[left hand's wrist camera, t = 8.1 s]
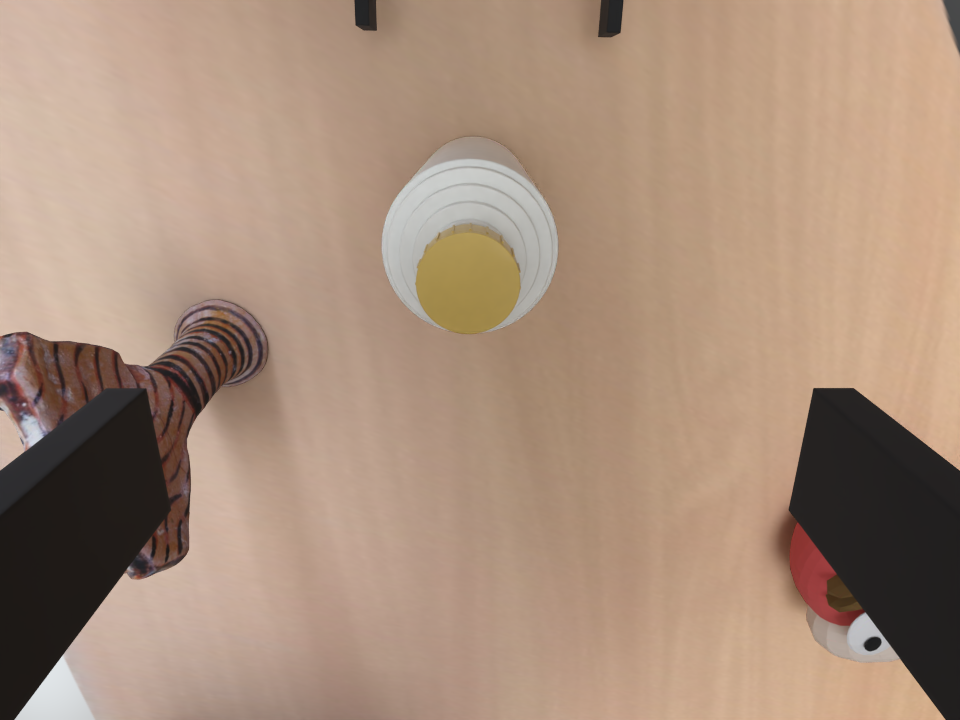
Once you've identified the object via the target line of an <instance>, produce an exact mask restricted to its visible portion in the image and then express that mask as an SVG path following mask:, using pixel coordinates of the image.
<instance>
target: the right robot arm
mask: <svg viewBox="0 0 960 720" xmlns="http://www.w3.org/2000/svg"><path fill="white" fill-rule="evenodd" d="M622 10H623V0H601V9H600V21H599V34H598V37H613V36H615V35H617V34H619V33H620V32H621V21H622ZM355 22H356V26H358V27H359V28H361V29H362V30H371V31H377V24H376V0H355Z"/></svg>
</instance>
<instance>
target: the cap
mask: <svg viewBox="0 0 960 720" xmlns="http://www.w3.org/2000/svg"><path fill="white" fill-rule="evenodd" d="M417 268H418V270H417V275H416V282H415V285H416V291H417V296H418V299H419V302H420V304H421V306H422V308H423V310H424V311H425V312H426V314H427V315H428V316H429V317H430V318H431V319H432V320H433V321H434V322H435V323H436V324H438V325H439V326H441V327H443V328H445V329H447V330H449V331H452V332H455V333H461V334H476V333H482V332H485V331H488V330H490V329H492V328H494V327H496V326H497V325H499V324H500V323H502V322H503V321H504V320H505V319H506V318H507V317H508V316H509V315H510V313H511V312H512V310H513V309H514V307H515V305H516V303H517V300H518V297H519V293H520V290H521V285H520V274H519V273H521V271H520V267H519V263H517V261H516V258H515V254H514V249H513V247H512V248H511V247H510V246H509V244H508V243H507V242H506V241H505V240H504V239H503V236H502V235H499V234H497V233H496V232H494V231H493V230H491V229H489V227H488V226H486V227H483V226H479V225H473V224H472V223H470V224H464V225H458V226H455V225H453V226H452V227H451V228H448V229H446V230H444V231H443V232H441V233H440V232H438V233H437V236H436V237H435V238H434V239H433V240H432V241H431V242H430V243H429V244H427V245H426V247H425V249H424V253H423V256H422V258H421V259H419V262H418V265H417Z"/></svg>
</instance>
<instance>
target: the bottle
mask: <svg viewBox="0 0 960 720" xmlns="http://www.w3.org/2000/svg"><path fill="white" fill-rule="evenodd" d="M470 223H472V224H473V225H479V226H483V227H486V226H488V227H489V229H491V230H493V231H494V232H496V233H497V234H499V235H502V236H503V239H504V240H505V241H506V242H507V243H508V244H509V246H510V247H511V248H512V247H513V249H514V254H515V258H516V261H517V263H519V267H520V271H521V273H519V274H520V285H521V290H520V293H519V297H518V300H517V303H516V305H515V307H514V309H513V310H512V312H511V313H510V315H509V316H508V317H507V318H506V319H505V320H504V321H503V322H502V323H500V324H499V325H497V326H496V327H494V328H492V329H490V330H488V331H485V332H490V331H494V330H497V329H500V328H503V327H506V326H508V325H510V324H512V323H514V322H515V321H517V320H519V319H520V318H522V317H523V316H524V315H525V314H527V313H528V312H529V311H530V310H531V309H532V308H533V307H534V306H535V305H536V304H537V303H538V302H539V301H540V299H541V298H542V296H543V295H544V294H545V292H546V290H547V288H548V287H549V285H550V283H551V280H552V278H553V275H554V272H555V268H556V264H557V259H558V234H557V228H556V224H555V221H554V218H553V215H552V213H551V210H550V208H549V206H548V204H547V202H546V201H545V199H544V198H543V196H542V195H541V193H540V192H539V190H538V189H537V187H536V186H535V184H534V183H533V181H532V180H531V178H530V177H529V175H528V174H527V172H526V171H525V170H524V168H523V167H522V165H521V164H520V162H519V161H518V159H517V158H516V157H515V156H514V154H513V153H512V152H511V151H509V150H508V149H507V148H506V147H504V146H503V145H502V144H500V143H498V142H496V141H494V140H491V139H488V138H484V137H476V136H470V137H462V138H458V139H455V140H452V141H450V142H448V143H446V144H444V145H443V146H442V147H440V148H439V149H438V150H437V151H436V152H434V153H433V154H432V156H431V157H430V158H429V159H428V160H427V161H426V162H425V164H424V165H423V166H422V167H421V168H420V169H419V171H418V172H417V173H416V174H415V175H414V176H413V177H412V179H411V180H410V181H409V182H408V183H407V184H406V185H405V187H404V188H403V189H402V190H401V192H400V193H399V194H398V195H397V197H396V199H395V200H394V202H393V203H392V205H391V207H390V210H389V212H388V214H387V217H386V220H385V224H384V227H383V234H382V257H383V264H384V267H385V271H386V274H387V277H388V279H389V282H390V284H391V286H392V288H393V289H394V291H395V293H396V294H397V296H398V297H399V298H400V300H401V301H402V302H403V303H404V305H405V306H406V307H407V308H408V309H409V310H410V311H412V312H413V313H414V314H415V315H416V316H418V317H419V318H421V319H422V320H424V321H425V322H427V323H429V324H431V325H433V326H435V327H438V328H440V329H444V330H447V329H445V328H443V327H441V326H439V325H438V324H436V323H435V322H434V321H433V320H432V319H431V318H430V317H429V316H428V315H427V314H426V312H425V311H424V310H423V308H422V306H421V304H420V302H419V299H418V296H417V291H416V285H415V282H416V275H417V270H418V268H417V265H418V262H419V259H421V258H422V256H423V253H424V249H425V247H426V245H427V244H429V243H430V242H431V241H432V240H433V239H434V238H435V237H436V236H437V233H438V232H440V233H441V232H443V231H444V230H446V229H448V228H451V227H452V226H453V225H455V226H458V225H464V224H470ZM447 331H449V330H447ZM451 332H452V331H451ZM485 332H482V333H485Z"/></svg>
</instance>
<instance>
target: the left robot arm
mask: <svg viewBox="0 0 960 720" xmlns="http://www.w3.org/2000/svg"><path fill="white" fill-rule="evenodd" d="M170 511H171V506H170V501H169V496H168V491H167V487H166V482H165V477H164V472H163V467H162V462H161V457H160V452H159V447H158V443H157V438H156V433H155V428H154V423H153V418H152V413H151V408H150V403H149V398H148V394H147V389H146V388H106V389H105V390H103V391H102V392H101V393H100V394H98V395H97V396H96V397H94V398H93V399H92V400H91V401H89V402H88V403H87V404H85V405H84V406H83V407H82V408H80V409H79V410H78V411H76V412H75V413H74V414H73V415H71V416H70V417H69V418H67V419H66V420H65V421H64V422H62V423H61V424H60V425H58V426H57V427H56V428H55V429H53V430H52V431H51V432H49V433H48V434H47V435H46V436H44V437H43V438H42V439H40V440H39V441H38V442H37V443H35V444H34V445H33V446H31V447H30V448H29V449H28V450H26V451H25V452H24V453H22V454H21V455H20V456H19V457H17V458H16V459H15V460H13V461H12V462H11V463H10V464H8V465H7V466H6V467H4V468H3V469H2V470H1V471H0V720H14V719H15V718H16V717H17V715H18V714H19V713H20V711H21V710H22V709H23V707H24V706H25V705H26V703H27V702H28V701H29V699H30V698H31V697H32V695H33V694H34V693H35V691H36V690H37V689H38V687H39V686H40V685H41V683H42V682H43V681H44V679H45V678H46V677H47V675H48V674H49V673H50V671H51V670H52V669H53V667H54V666H55V665H56V663H57V662H58V661H59V659H60V658H61V657H62V655H63V654H64V653H65V651H66V650H67V649H68V647H69V646H70V645H71V643H72V642H73V641H74V639H75V638H76V637H77V635H78V634H79V633H80V631H81V630H82V629H83V627H84V626H85V625H86V623H87V622H88V621H89V619H90V618H91V617H92V615H93V614H94V613H95V611H96V610H97V609H98V607H99V606H100V605H101V603H102V602H103V601H104V599H105V598H106V597H107V595H108V594H109V593H110V591H111V590H112V589H113V587H114V586H115V585H116V583H117V582H118V581H119V579H120V578H121V577H122V575H123V574H124V572H125V571H126V570H127V568H128V567H129V566H130V564H131V563H132V562H133V560H134V559H135V558H136V556H137V555H138V554H139V552H140V551H141V550H142V548H143V547H144V546H145V544H146V543H147V542H148V540H149V539H150V538H151V536H152V535H153V534H154V532H155V531H156V530H157V528H158V527H159V526H160V524H161V523H162V522H163V520H164V519H165V518H166V516H167V515H168V514H169V512H170ZM789 511H790V512H791V514H792V515H793V516H794V518H795V519H796V520H797V522H798V523H799V524H800V526H801V527H802V528H803V530H804V531H805V532H806V534H807V535H808V536H809V538H810V539H811V540H812V542H813V543H814V544H815V546H816V547H817V548H818V550H819V551H820V552H821V554H822V555H823V556H824V558H825V559H826V560H827V562H828V563H829V564H830V566H831V567H832V568H833V570H834V571H835V572H836V574H837V575H838V576H839V578H840V579H841V580H842V582H843V583H844V585H845V586H846V587H847V589H848V590H849V591H850V593H851V594H852V595H853V597H854V598H855V599H856V601H857V602H858V603H859V605H860V606H861V607H862V609H863V610H864V611H865V613H866V614H867V615H868V617H869V618H870V619H871V621H872V622H873V623H874V625H875V626H876V627H877V629H878V630H879V631H880V633H881V634H882V635H883V637H884V638H885V639H886V641H887V642H888V643H889V645H890V646H891V647H892V649H893V650H894V651H895V653H896V654H897V655H898V657H899V658H900V659H901V661H902V662H903V663H904V665H905V666H906V667H907V669H908V670H909V671H910V673H911V674H912V675H913V677H914V678H915V679H916V681H917V682H918V683H919V685H920V686H921V687H922V689H923V690H924V691H925V693H926V694H927V695H928V697H929V698H930V699H931V701H932V702H933V703H934V705H935V706H936V707H937V709H938V710H939V711H940V713H941V714H942V715H943V717H944V718H945V719H946V720H960V471H959V470H958V469H957V468H956V467H954V466H953V465H952V464H950V463H949V462H948V461H947V460H945V459H944V458H943V457H941V456H940V455H939V454H938V453H936V452H935V451H934V450H932V449H931V448H930V447H929V446H927V445H926V444H925V443H923V442H922V441H921V440H920V439H918V438H917V437H916V436H914V435H913V434H912V433H911V432H909V431H908V430H907V429H905V428H904V427H903V426H902V425H900V424H899V423H898V422H896V421H895V420H894V419H893V418H891V417H890V416H889V415H887V414H886V413H885V412H884V411H882V410H881V409H880V408H878V407H877V406H876V405H875V404H873V403H872V402H871V401H869V400H868V399H867V398H866V397H864V396H863V395H862V394H860V393H859V392H858V391H857V390H855V389H854V388H814V389H813V394H812V399H811V403H810V408H809V413H808V418H807V423H806V428H805V433H804V438H803V443H802V447H801V452H800V457H799V462H798V467H797V472H796V477H795V482H794V487H793V492H792V496H791V501H790V506H789Z"/></svg>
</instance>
